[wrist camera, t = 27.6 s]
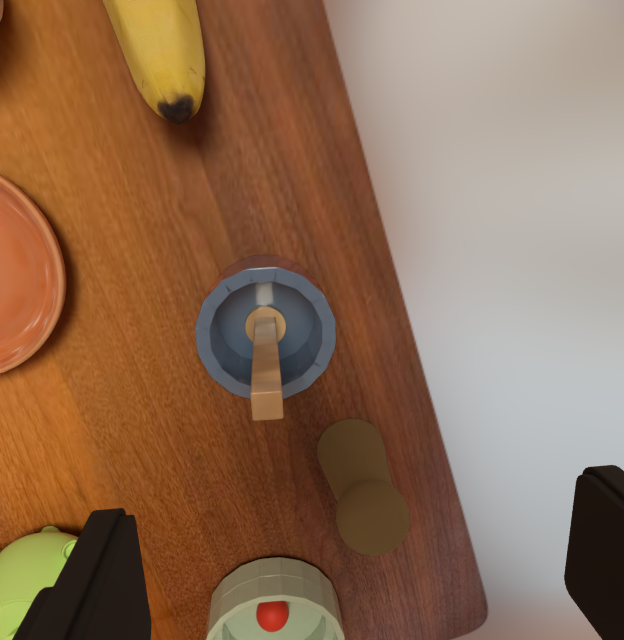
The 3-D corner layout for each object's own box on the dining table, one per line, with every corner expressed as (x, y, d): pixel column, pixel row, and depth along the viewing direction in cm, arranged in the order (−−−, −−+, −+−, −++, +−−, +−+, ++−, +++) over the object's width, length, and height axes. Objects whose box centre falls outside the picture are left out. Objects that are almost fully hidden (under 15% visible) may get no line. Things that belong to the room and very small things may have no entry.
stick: (284, 303, 39) (297, 374, 25) (286, 342, 40) (299, 432, 26) (243, 305, 39) (232, 379, 25) (246, 344, 40) (237, 437, 26)
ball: (258, 642, 44) (277, 621, 43) (244, 610, 46) (262, 589, 45) (282, 635, 46) (300, 615, 45) (268, 604, 48) (285, 584, 47)
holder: (323, 251, 39) (334, 264, 33) (327, 366, 42) (337, 395, 36) (199, 257, 38) (188, 271, 33) (211, 373, 41) (202, 405, 35)
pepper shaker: (305, 435, 43) (319, 518, 33) (369, 407, 43) (403, 481, 33) (332, 489, 45) (353, 584, 35) (393, 462, 45) (434, 549, 34)
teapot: (18, 624, 46) (-34, 719, 38) (-28, 520, 43) (-96, 600, 34) (140, 597, 46) (114, 686, 38) (104, 492, 43) (67, 565, 35)
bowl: (335, 546, 47) (343, 588, 42) (337, 648, 50) (346, 697, 45) (203, 559, 46) (196, 603, 41) (215, 662, 49) (210, 714, 44)
